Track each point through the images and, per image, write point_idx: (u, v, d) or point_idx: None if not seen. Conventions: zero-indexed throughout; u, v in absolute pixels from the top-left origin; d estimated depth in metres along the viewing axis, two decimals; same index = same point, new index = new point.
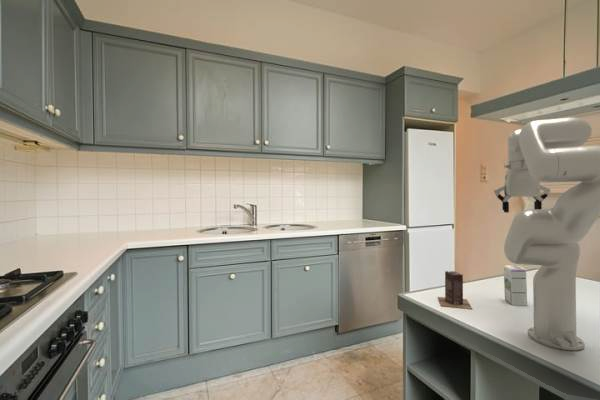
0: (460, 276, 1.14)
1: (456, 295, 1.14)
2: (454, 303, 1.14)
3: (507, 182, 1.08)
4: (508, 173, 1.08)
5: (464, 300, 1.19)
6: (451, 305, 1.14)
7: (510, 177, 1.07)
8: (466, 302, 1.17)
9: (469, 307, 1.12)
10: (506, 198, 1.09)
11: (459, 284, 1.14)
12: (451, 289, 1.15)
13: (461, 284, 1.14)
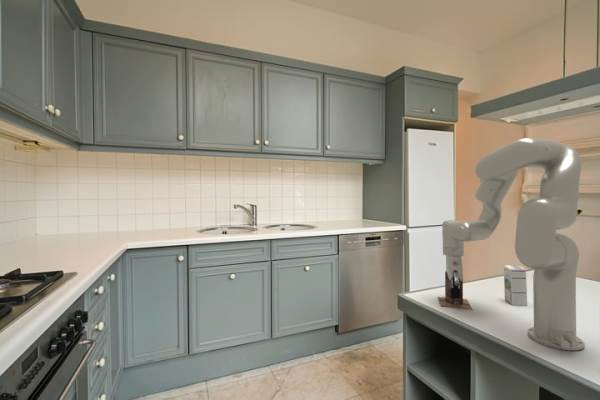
0: None
1: None
2: (454, 303, 1.14)
3: (460, 268, 1.12)
4: (460, 259, 1.12)
5: (464, 300, 1.19)
6: (451, 305, 1.14)
7: None
8: (466, 302, 1.17)
9: (469, 307, 1.12)
10: (459, 285, 1.13)
11: (459, 284, 1.14)
12: None
13: (461, 284, 1.14)
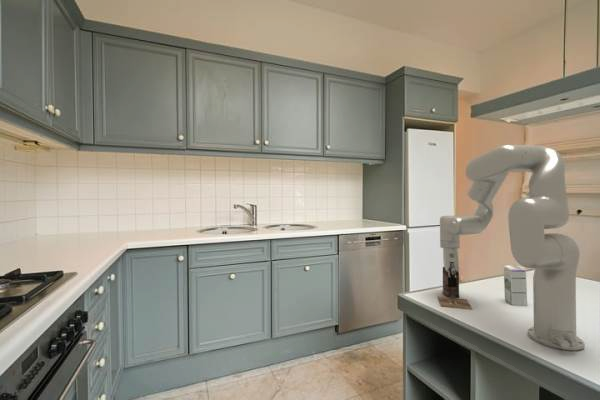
0: (456, 271, 1.23)
1: (453, 289, 1.23)
2: (451, 296, 1.23)
3: (456, 260, 1.20)
4: (456, 252, 1.21)
5: (464, 300, 1.19)
6: (451, 305, 1.14)
7: None
8: (466, 302, 1.17)
9: (469, 307, 1.12)
10: (455, 274, 1.20)
11: None
12: None
13: (457, 279, 1.23)
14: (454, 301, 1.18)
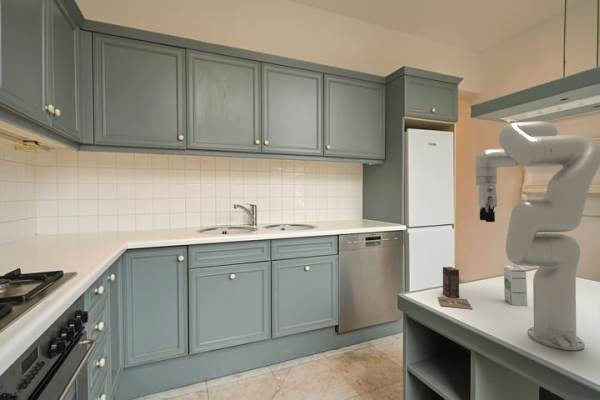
0: (456, 271, 1.23)
1: (453, 289, 1.23)
2: (451, 296, 1.23)
3: (494, 194, 1.19)
4: (494, 186, 1.19)
5: (464, 300, 1.19)
6: (451, 305, 1.14)
7: None
8: (466, 302, 1.17)
9: (469, 307, 1.12)
10: (493, 209, 1.19)
11: (455, 278, 1.23)
12: (448, 283, 1.24)
13: (457, 279, 1.23)
14: (454, 301, 1.18)
